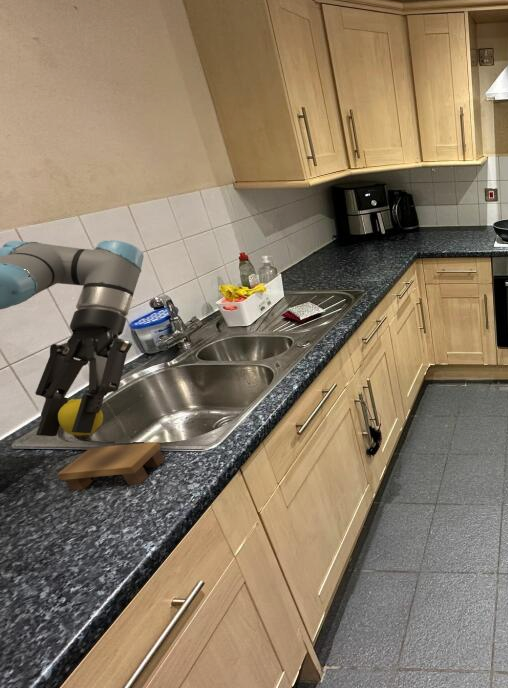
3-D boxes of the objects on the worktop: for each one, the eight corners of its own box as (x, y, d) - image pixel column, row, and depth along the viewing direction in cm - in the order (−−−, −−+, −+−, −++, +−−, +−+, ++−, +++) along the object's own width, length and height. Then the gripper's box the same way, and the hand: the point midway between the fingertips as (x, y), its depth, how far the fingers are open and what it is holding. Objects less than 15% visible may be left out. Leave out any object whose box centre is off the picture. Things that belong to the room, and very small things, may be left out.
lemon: (80, 430, 79) (59, 396, 76) (115, 421, 81) (97, 388, 78) (64, 448, 74) (41, 413, 71) (102, 438, 76) (81, 403, 73)
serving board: (69, 493, 80) (56, 474, 78) (101, 466, 86) (89, 448, 84) (142, 486, 80) (131, 466, 78) (167, 460, 86) (158, 441, 84)
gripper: (163, 316, 85) (134, 431, 76) (74, 323, 85) (34, 440, 76) (132, 302, 78) (96, 427, 69) (34, 310, 78) (-15, 437, 69)
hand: (63, 433), depth 73 cm, fingers closed on lemon, 5 cm apart
